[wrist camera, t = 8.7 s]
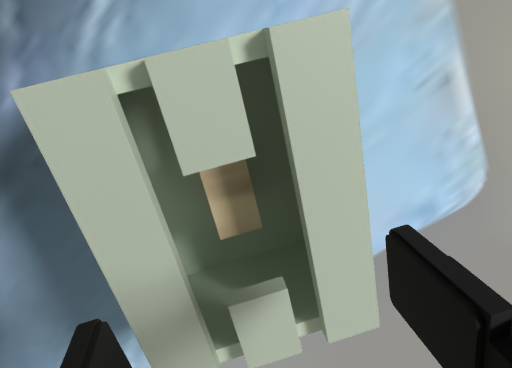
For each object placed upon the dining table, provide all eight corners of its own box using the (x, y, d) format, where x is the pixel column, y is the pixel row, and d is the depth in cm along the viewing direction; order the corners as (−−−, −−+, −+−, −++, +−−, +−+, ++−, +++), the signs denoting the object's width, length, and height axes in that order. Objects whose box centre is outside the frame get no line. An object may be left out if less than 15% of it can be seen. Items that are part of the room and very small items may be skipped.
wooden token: (215, 206, 23) (194, 137, 21) (249, 196, 24) (232, 127, 22) (220, 239, 19) (195, 159, 17) (262, 227, 19) (242, 146, 17)
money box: (85, 72, 19) (9, 91, 11) (284, 23, 20) (348, 7, 12) (173, 286, 26) (166, 397, 18) (321, 241, 27) (379, 326, 19)
